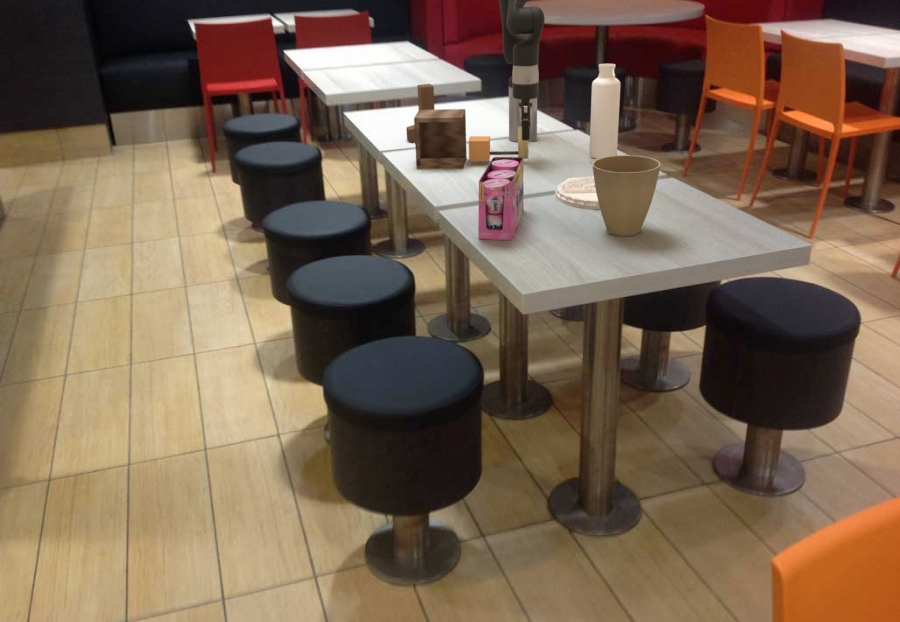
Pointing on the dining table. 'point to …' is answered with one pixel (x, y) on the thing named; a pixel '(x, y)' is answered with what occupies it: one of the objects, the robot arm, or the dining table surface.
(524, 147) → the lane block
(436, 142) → the box
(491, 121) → the dining table surface
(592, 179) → the medallion
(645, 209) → the plant pot
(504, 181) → the gum box
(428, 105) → the wooden block
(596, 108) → the bottle
